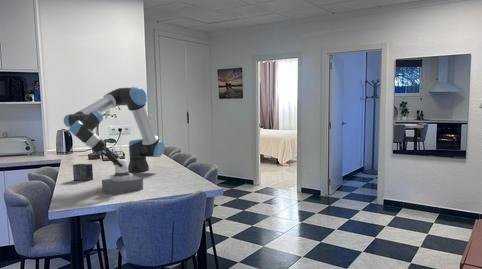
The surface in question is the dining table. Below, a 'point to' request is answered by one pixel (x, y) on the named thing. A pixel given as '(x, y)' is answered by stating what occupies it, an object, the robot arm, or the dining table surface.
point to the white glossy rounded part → (119, 171)
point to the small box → (82, 172)
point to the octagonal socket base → (122, 184)
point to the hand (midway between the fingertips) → (126, 168)
